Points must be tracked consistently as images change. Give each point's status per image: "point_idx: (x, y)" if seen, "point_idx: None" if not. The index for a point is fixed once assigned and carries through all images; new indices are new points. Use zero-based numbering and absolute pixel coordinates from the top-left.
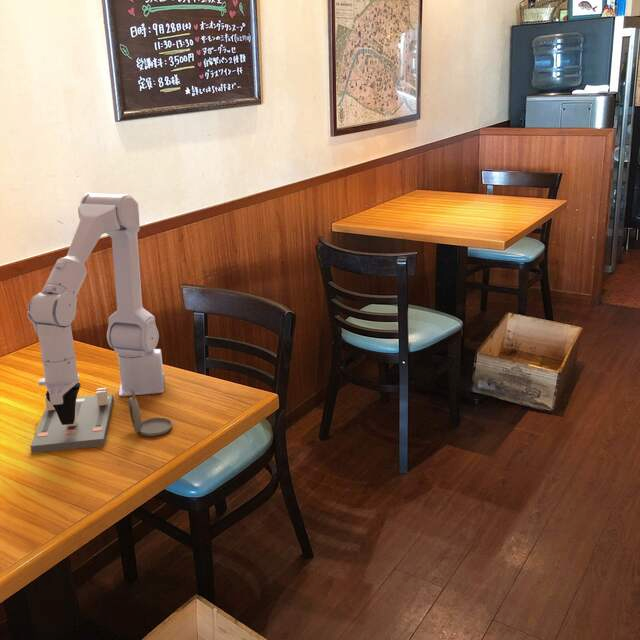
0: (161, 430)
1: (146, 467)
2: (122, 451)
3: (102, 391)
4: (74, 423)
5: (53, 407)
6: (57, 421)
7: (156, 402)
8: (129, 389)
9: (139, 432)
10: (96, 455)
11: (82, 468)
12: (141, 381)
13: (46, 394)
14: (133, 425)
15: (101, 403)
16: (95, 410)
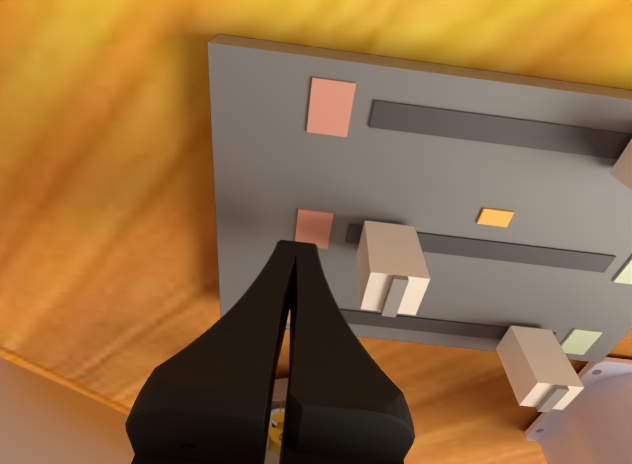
0: (279, 410)
1: (85, 368)
2: (181, 335)
3: (532, 398)
4: (357, 257)
5: (628, 167)
6: (462, 175)
7: (471, 415)
8: (596, 397)
9: (276, 379)
10: (163, 278)
11: (72, 239)
12: (583, 449)
13: (157, 412)
14: (278, 393)
15: (508, 342)
16: (482, 311)
